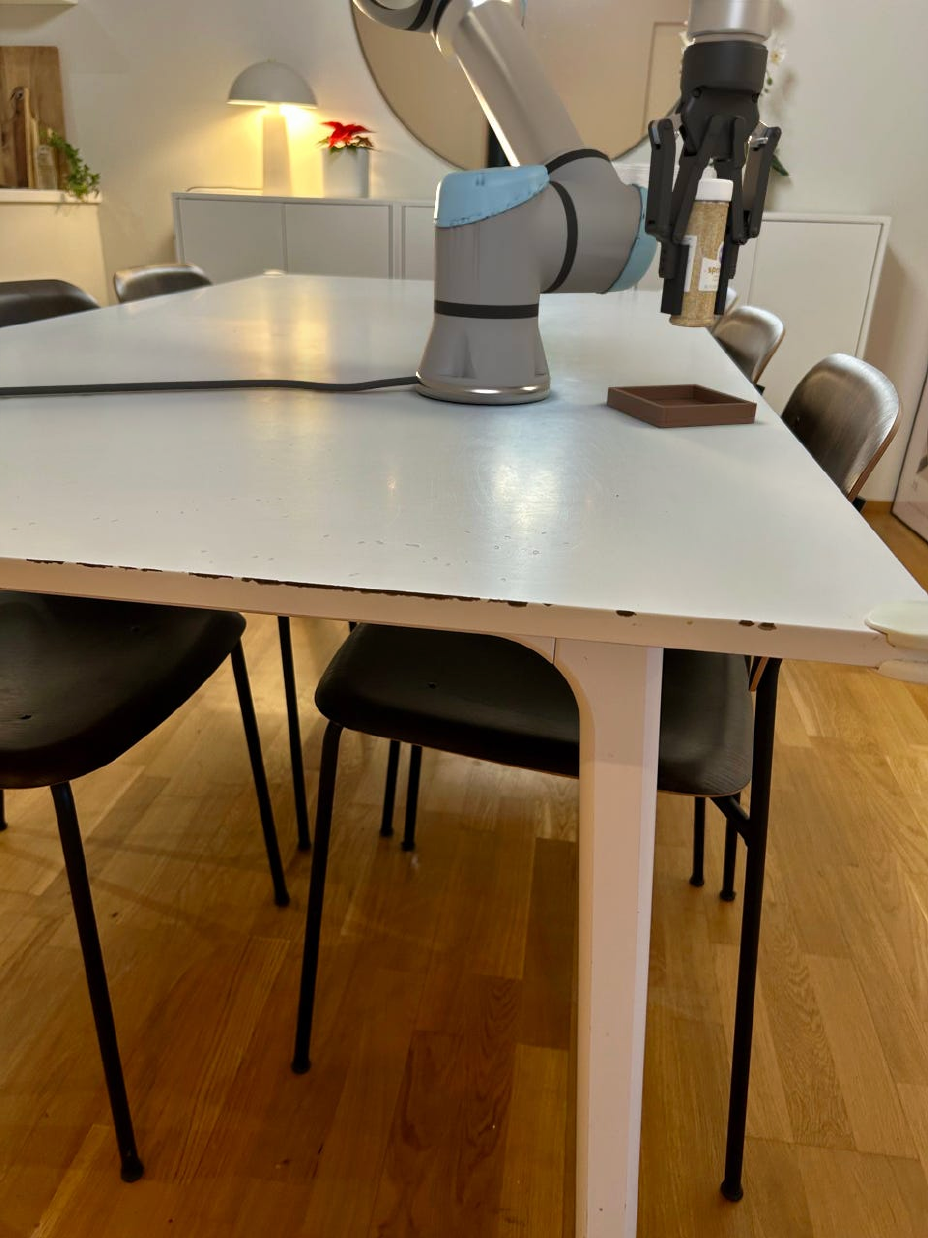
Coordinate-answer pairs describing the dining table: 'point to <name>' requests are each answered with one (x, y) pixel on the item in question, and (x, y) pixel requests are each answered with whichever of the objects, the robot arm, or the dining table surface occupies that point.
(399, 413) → the dining table surface
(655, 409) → the serving tray
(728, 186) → the spice jar
